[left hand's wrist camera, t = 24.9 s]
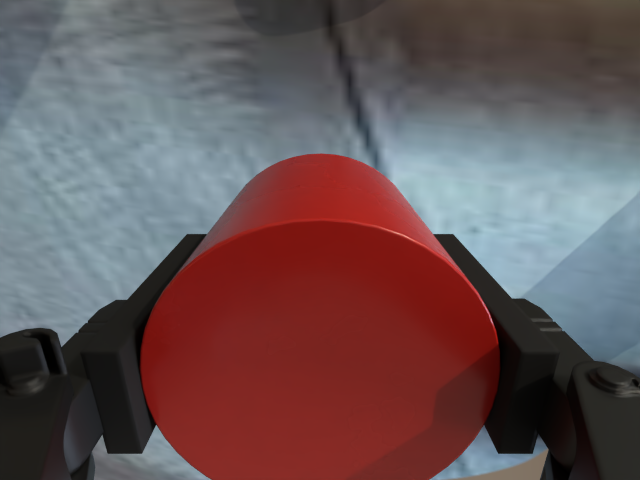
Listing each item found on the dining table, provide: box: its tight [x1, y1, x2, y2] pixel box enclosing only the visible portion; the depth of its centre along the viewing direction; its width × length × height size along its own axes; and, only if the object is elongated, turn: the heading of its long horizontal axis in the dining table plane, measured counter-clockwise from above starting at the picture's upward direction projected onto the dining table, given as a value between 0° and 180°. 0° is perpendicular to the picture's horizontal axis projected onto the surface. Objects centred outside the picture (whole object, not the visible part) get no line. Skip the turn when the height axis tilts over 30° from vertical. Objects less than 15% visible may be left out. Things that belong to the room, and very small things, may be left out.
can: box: [140, 154, 500, 480], centre depth 12 cm, size 8×8×8 cm
